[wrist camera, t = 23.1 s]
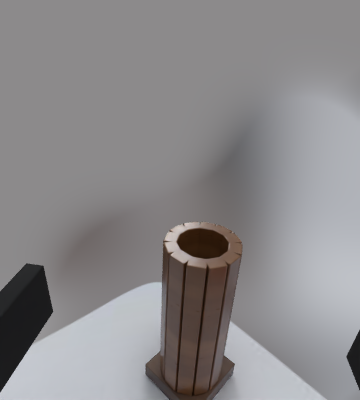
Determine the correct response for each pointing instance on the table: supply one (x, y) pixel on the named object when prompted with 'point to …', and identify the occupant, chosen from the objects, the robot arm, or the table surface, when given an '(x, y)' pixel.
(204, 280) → the brown wooden hollow cylinder
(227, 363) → the peg stand
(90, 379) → the table surface
